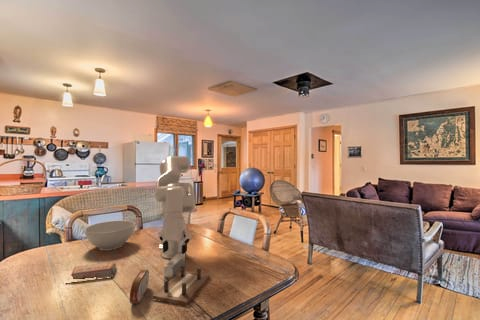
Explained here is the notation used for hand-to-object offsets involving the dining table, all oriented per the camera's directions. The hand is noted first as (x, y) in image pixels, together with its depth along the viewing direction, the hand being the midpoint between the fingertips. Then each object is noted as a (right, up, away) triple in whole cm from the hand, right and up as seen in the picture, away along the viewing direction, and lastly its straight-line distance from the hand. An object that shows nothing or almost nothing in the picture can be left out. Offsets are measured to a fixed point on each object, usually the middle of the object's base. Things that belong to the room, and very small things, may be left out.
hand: (174, 252), depth 113 cm
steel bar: (0, -9, +1) cm, 9 cm away
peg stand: (+7, -9, -15) cm, 19 cm away
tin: (-8, -9, -20) cm, 24 cm away
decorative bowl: (-46, -9, +32) cm, 57 cm away
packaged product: (-35, -10, -4) cm, 37 cm away
